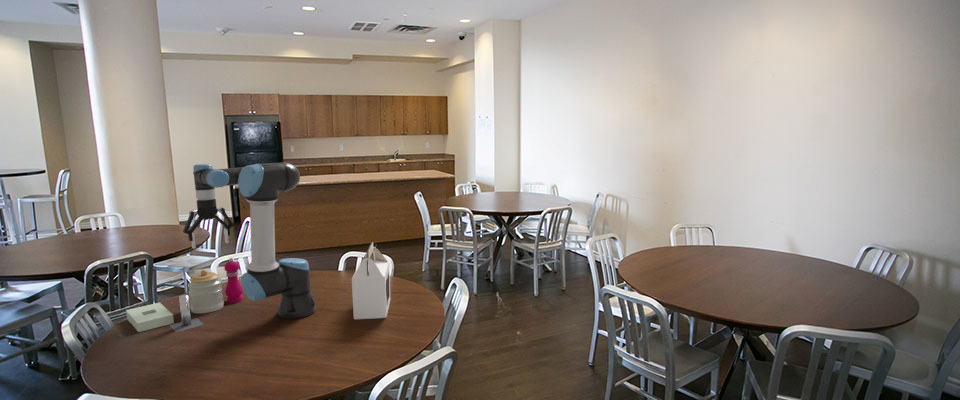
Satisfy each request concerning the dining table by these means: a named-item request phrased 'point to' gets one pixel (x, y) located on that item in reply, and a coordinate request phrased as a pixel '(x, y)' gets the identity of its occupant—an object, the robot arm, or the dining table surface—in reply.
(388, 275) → the gable box
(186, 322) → the pin
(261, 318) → the dining table surface
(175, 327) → the mat
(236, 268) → the pepper mill
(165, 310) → the socket block
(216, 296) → the jar
